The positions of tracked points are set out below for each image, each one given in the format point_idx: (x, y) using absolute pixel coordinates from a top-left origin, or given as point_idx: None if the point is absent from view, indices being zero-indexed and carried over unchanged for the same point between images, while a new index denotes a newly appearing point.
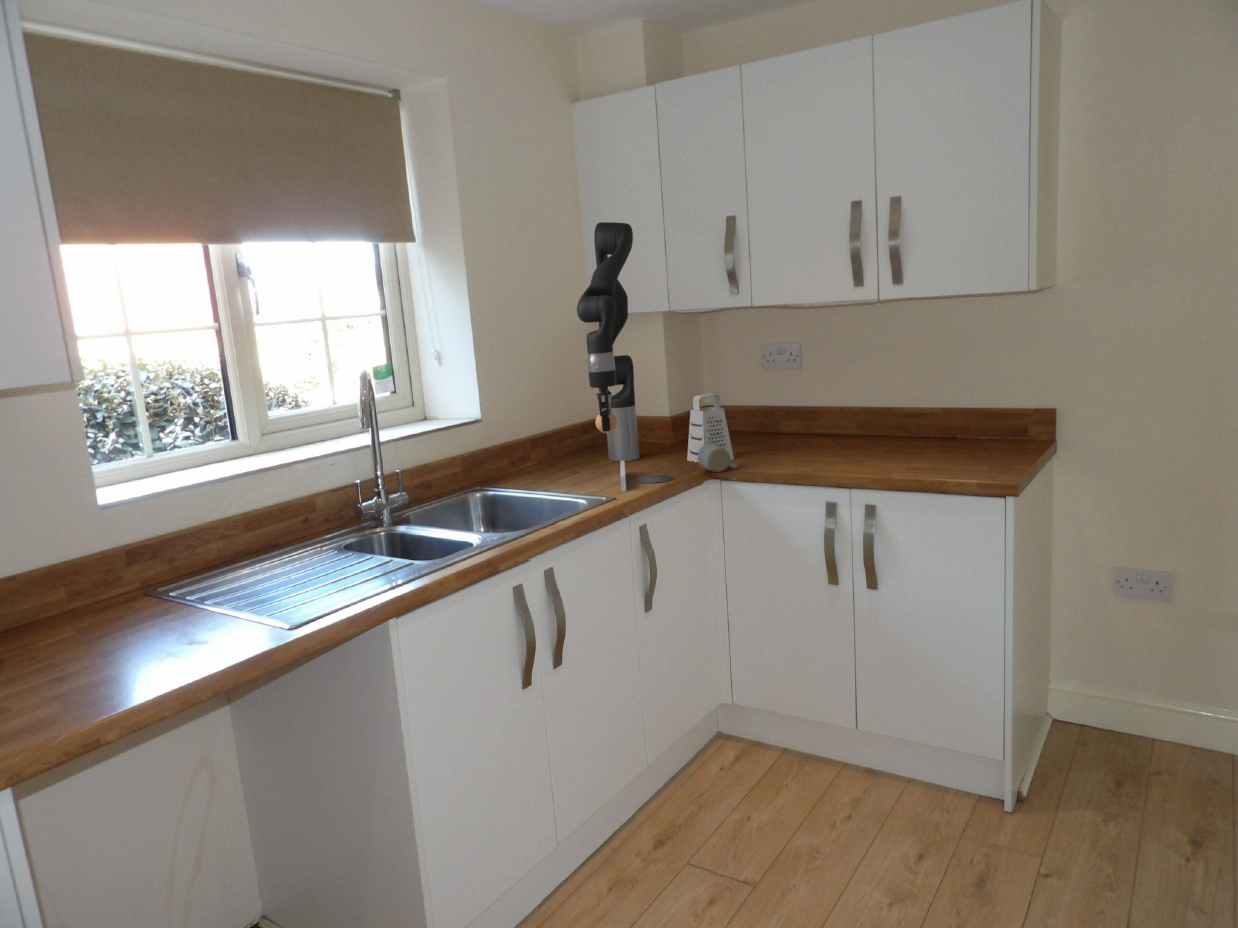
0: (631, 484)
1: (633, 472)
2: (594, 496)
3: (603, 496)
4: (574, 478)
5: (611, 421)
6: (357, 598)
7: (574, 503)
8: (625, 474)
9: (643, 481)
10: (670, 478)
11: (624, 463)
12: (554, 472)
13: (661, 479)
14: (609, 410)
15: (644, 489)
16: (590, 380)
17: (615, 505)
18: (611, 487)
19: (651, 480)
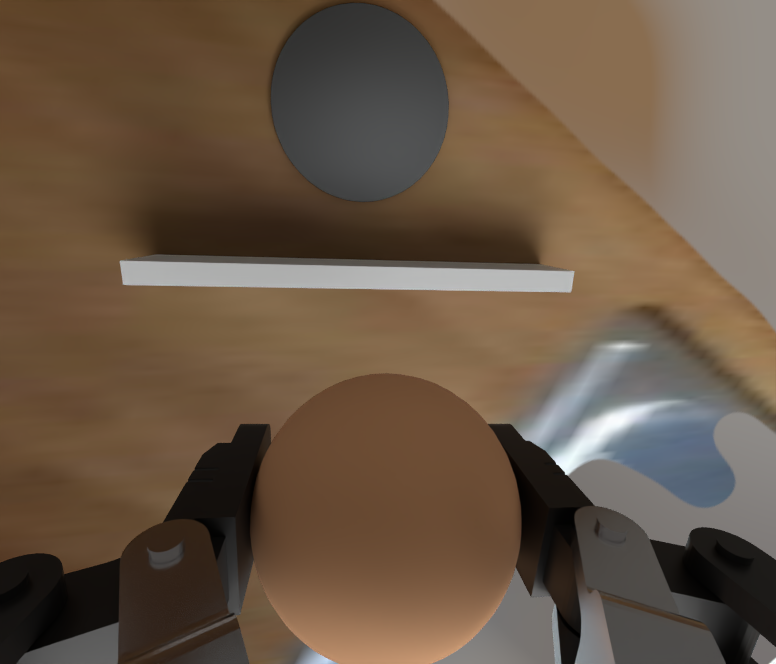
0: (420, 236)
1: (120, 211)
2: (571, 381)
3: (588, 350)
4: (183, 476)
5: (505, 452)
6: None
7: (639, 439)
8: (246, 258)
9: (406, 177)
10: (394, 26)
11: (216, 263)
12: None
13: (398, 80)
14: (216, 582)
15: (550, 185)
16: None
17: (746, 308)
18: (443, 322)
19: (400, 135)
